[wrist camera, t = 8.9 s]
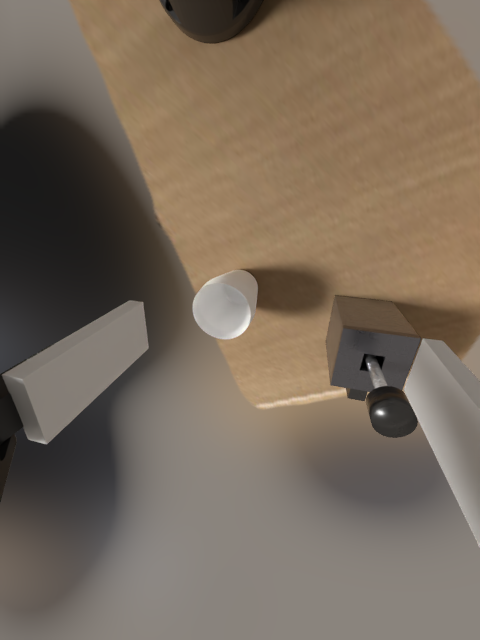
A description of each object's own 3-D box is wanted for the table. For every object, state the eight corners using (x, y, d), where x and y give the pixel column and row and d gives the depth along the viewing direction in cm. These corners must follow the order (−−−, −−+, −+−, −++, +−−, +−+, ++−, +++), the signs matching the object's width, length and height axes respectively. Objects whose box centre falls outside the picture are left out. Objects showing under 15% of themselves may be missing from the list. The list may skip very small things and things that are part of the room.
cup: (273, 278, 47) (263, 302, 37) (250, 318, 51) (235, 350, 41) (228, 253, 47) (205, 269, 37) (209, 295, 51) (182, 321, 41)
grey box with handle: (334, 295, 46) (343, 328, 34) (392, 301, 44) (421, 338, 33) (322, 357, 51) (326, 404, 40) (373, 365, 50) (392, 416, 38)
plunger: (343, 309, 44) (366, 389, 26) (386, 314, 42) (442, 402, 24) (335, 344, 46) (352, 438, 28) (375, 349, 45) (419, 452, 27)
